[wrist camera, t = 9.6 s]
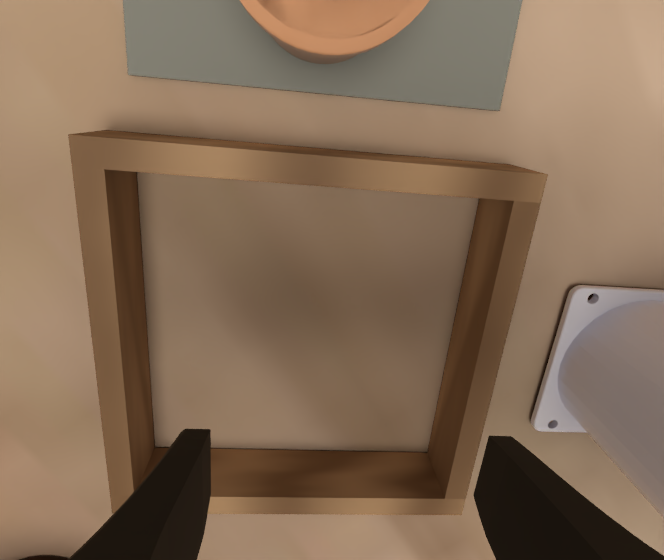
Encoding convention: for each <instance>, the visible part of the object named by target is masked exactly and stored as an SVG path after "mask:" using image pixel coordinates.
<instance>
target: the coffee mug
mask: <svg viewBox="0 0 664 560" xmlns="http://www.w3.org/2000/svg"><path fill="white" fill-rule="evenodd" d="M68 559H69V558H65V557H58V556H33V557H27V558H24V559H20V560H68Z"/></svg>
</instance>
